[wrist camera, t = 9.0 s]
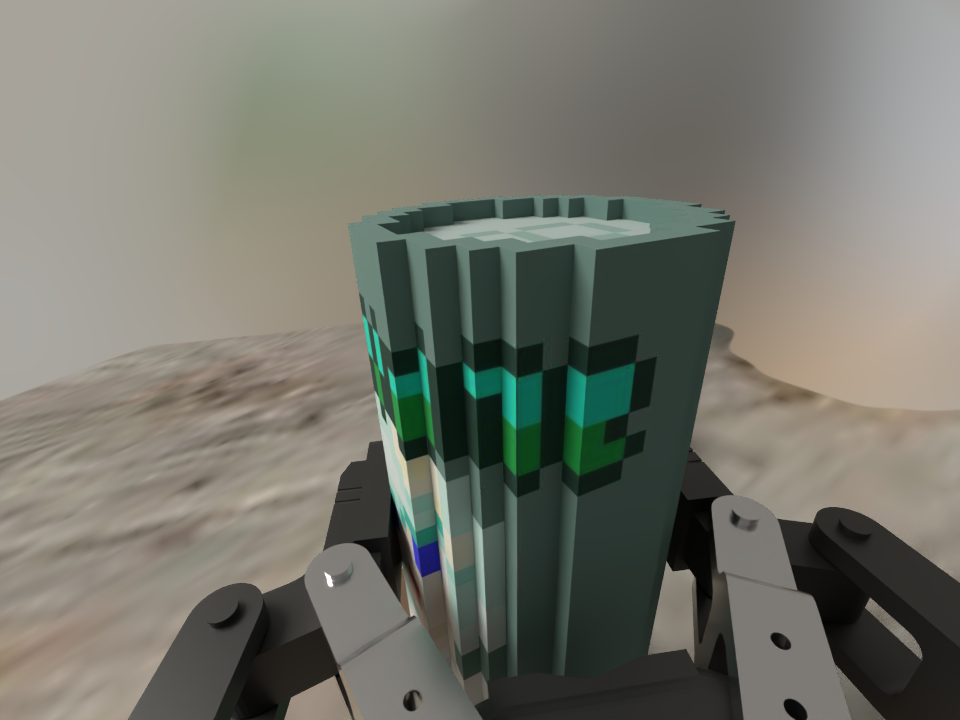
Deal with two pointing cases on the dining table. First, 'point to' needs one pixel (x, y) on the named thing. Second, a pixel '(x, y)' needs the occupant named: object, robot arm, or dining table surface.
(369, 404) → the dining table surface
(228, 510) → the dining table surface
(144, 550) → the dining table surface
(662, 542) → the can
